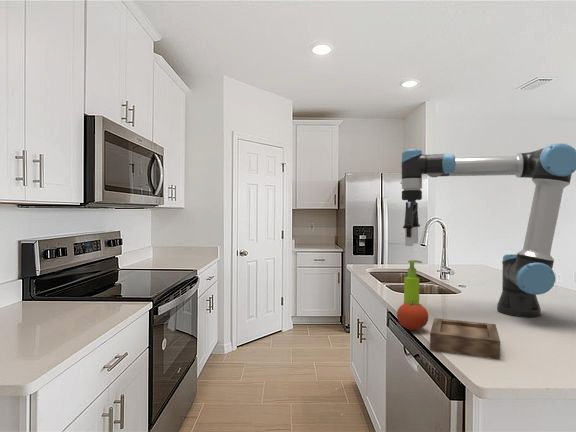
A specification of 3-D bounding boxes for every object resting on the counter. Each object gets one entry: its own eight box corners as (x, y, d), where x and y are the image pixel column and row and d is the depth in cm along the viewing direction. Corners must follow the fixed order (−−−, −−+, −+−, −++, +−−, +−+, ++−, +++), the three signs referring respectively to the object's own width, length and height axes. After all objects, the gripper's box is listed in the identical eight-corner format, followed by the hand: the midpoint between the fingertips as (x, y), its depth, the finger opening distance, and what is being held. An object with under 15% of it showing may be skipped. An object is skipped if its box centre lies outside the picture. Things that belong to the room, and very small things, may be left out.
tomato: (410, 335, 132) (410, 304, 132) (390, 327, 141) (390, 298, 141) (435, 332, 136) (435, 302, 136) (414, 324, 145) (414, 296, 145)
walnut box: (495, 340, 128) (495, 324, 128) (500, 359, 111) (500, 341, 111) (434, 333, 135) (434, 317, 135) (430, 350, 118) (430, 332, 118)
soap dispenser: (422, 312, 163) (423, 261, 162) (404, 311, 164) (405, 261, 164) (420, 308, 168) (421, 259, 168) (403, 307, 170) (403, 259, 170)
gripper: (406, 191, 172) (407, 242, 172) (396, 188, 149) (396, 246, 149) (425, 190, 168) (425, 242, 169) (417, 188, 146) (417, 247, 146)
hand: (411, 244), depth 159 cm, fingers open, 13 cm apart
